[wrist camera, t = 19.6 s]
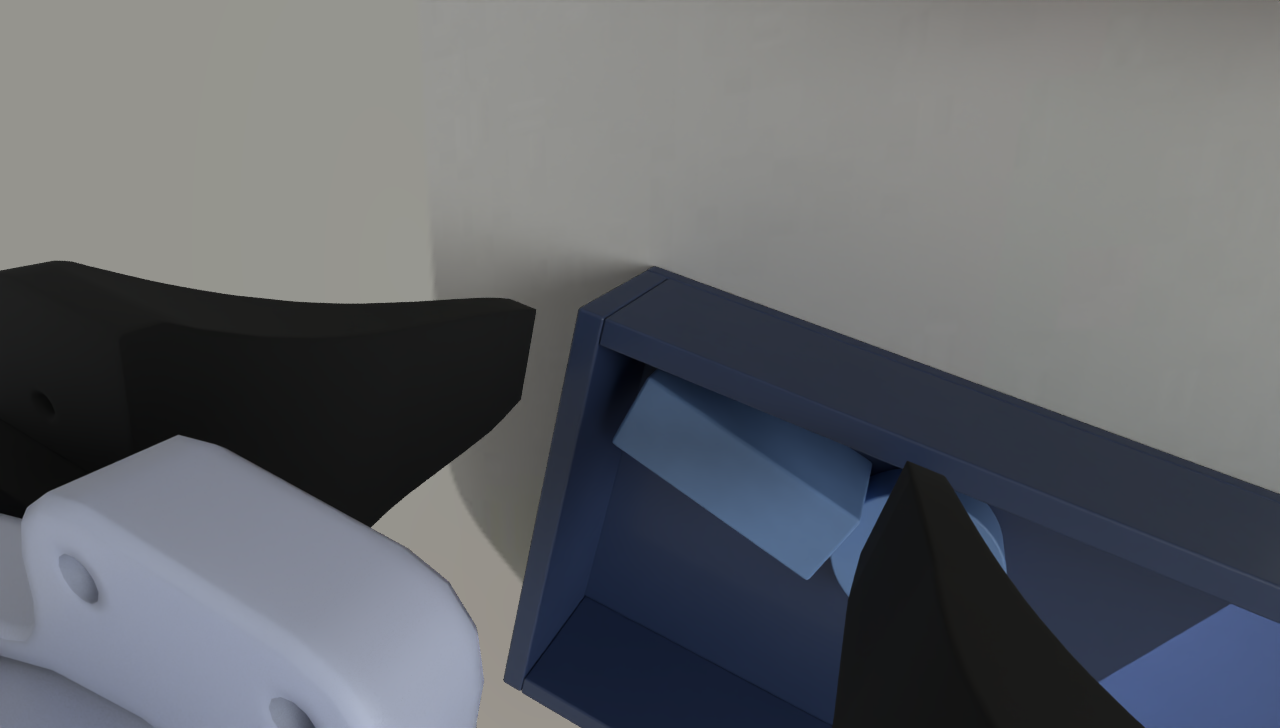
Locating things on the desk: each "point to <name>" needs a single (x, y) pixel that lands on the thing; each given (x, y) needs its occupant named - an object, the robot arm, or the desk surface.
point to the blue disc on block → (768, 476)
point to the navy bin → (816, 608)
